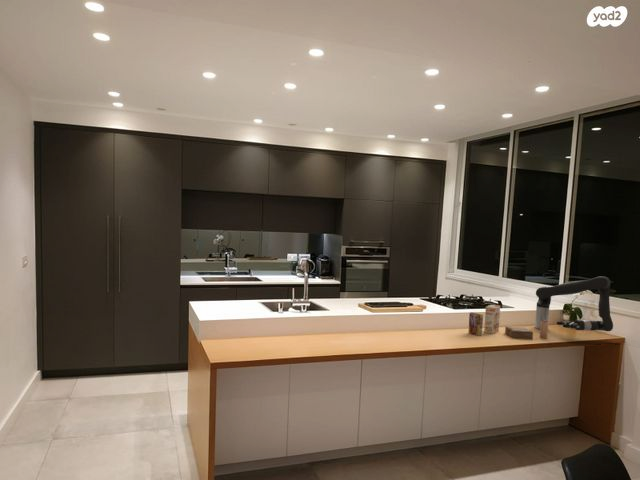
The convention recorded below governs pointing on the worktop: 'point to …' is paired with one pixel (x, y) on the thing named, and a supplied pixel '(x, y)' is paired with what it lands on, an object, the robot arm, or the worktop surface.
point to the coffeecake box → (492, 319)
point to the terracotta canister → (543, 328)
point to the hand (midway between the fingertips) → (560, 324)
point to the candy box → (475, 323)
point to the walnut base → (519, 332)
